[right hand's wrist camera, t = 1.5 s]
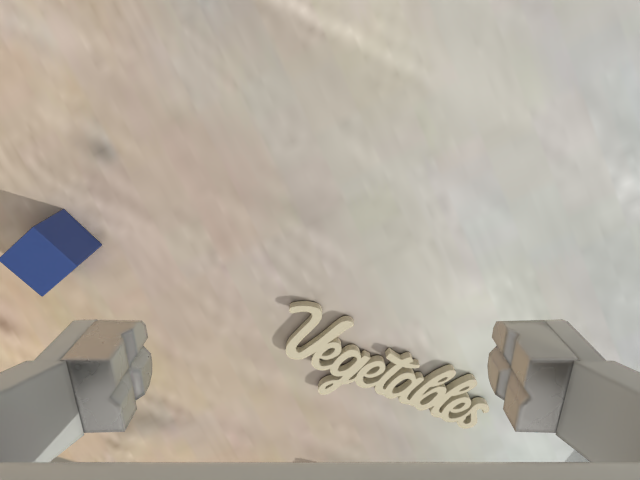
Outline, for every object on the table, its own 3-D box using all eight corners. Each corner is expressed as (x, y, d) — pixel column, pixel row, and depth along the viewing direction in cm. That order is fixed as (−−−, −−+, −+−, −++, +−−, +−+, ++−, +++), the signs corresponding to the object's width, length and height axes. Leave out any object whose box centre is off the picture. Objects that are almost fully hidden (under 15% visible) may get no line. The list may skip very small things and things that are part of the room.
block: (70, 272, 45) (41, 297, 41) (31, 238, 44) (-3, 259, 39) (102, 244, 44) (77, 266, 39) (63, 208, 43) (32, 226, 38)
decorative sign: (256, 369, 48) (295, 297, 45) (257, 363, 49) (296, 293, 46) (457, 448, 53) (506, 389, 50) (455, 441, 54) (503, 383, 51)
